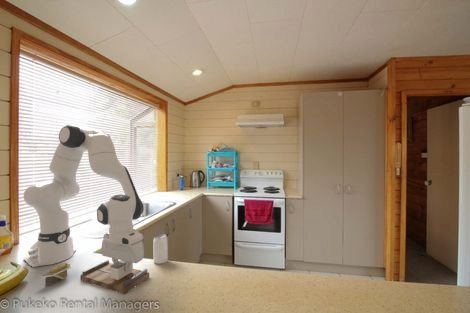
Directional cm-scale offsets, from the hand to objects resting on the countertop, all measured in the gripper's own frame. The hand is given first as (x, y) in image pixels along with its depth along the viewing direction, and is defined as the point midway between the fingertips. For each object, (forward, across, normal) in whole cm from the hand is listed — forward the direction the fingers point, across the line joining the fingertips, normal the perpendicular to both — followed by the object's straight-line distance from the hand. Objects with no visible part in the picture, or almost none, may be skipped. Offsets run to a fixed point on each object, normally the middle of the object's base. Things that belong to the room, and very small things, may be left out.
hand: (122, 269), depth 89 cm
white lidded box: (+2, 0, 0) cm, 2 cm away
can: (+5, +3, +19) cm, 20 cm away
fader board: (+5, -4, 0) cm, 6 cm away
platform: (+5, -25, -10) cm, 27 cm away
